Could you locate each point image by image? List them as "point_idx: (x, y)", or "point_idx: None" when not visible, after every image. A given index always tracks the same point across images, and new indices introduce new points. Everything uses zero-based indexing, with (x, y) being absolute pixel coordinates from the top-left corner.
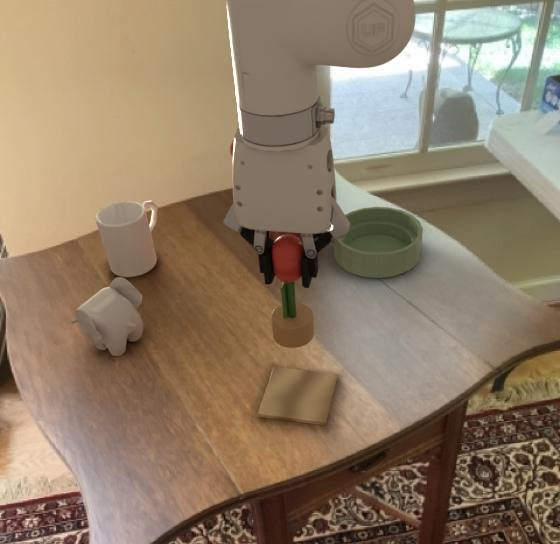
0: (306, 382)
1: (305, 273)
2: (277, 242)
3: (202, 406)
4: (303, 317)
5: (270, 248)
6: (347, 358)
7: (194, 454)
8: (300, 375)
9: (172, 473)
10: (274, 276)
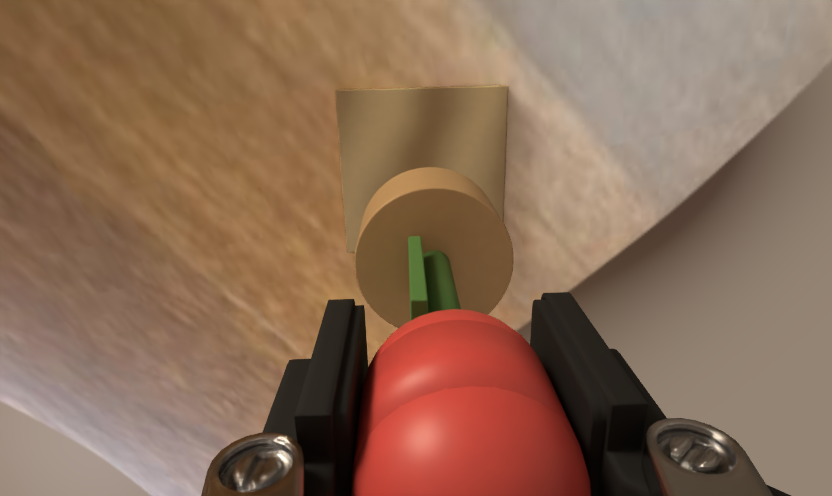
0: (434, 133)
1: None
2: None
3: (212, 243)
4: (479, 271)
5: (339, 493)
6: (522, 4)
7: (257, 360)
8: (413, 110)
9: (237, 404)
10: (367, 361)
